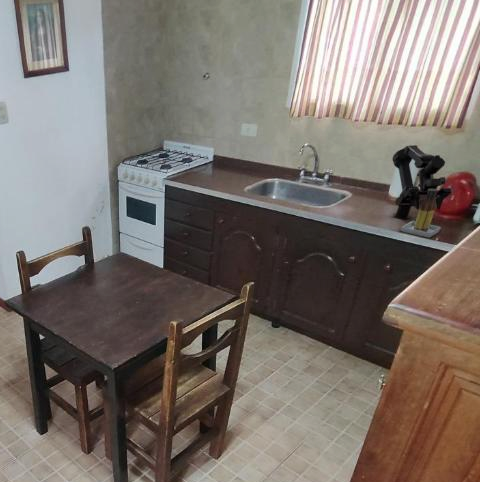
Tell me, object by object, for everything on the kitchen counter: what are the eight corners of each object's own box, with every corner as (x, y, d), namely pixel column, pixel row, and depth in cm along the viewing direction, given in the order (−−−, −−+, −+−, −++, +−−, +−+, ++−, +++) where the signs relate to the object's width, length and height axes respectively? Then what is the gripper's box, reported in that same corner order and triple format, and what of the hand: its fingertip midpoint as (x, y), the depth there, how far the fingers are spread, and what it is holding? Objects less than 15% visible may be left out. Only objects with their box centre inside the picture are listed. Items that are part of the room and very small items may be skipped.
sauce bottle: (427, 228, 234) (441, 188, 223) (428, 233, 230) (443, 191, 219) (411, 227, 237) (425, 187, 226) (412, 231, 232) (427, 190, 221)
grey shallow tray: (411, 225, 241) (412, 220, 239) (439, 231, 232) (441, 227, 231) (400, 231, 234) (401, 226, 233) (428, 237, 226) (430, 233, 225)
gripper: (414, 170, 223) (416, 201, 220) (457, 170, 220) (460, 201, 217) (402, 183, 233) (404, 212, 231) (443, 183, 231) (445, 212, 228)
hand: (428, 209), depth 226 cm, fingers open, 9 cm apart
